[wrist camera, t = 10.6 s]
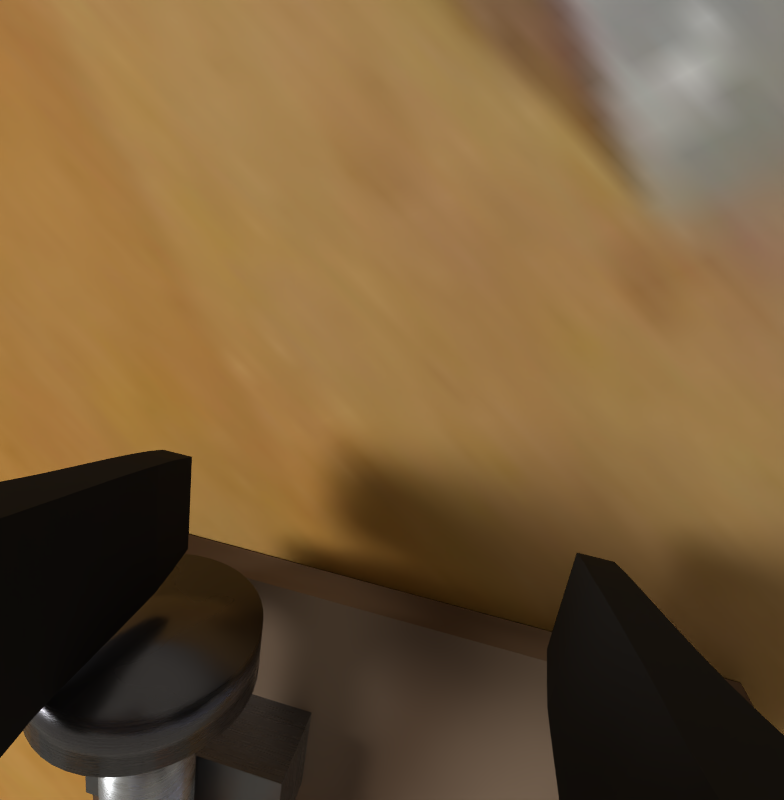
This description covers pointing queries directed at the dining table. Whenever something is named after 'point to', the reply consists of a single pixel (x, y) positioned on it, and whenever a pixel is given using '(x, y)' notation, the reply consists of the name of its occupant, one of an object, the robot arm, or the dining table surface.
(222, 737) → the supports
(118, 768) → the shaft
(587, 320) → the dining table surface
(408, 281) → the dining table surface
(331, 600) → the board
